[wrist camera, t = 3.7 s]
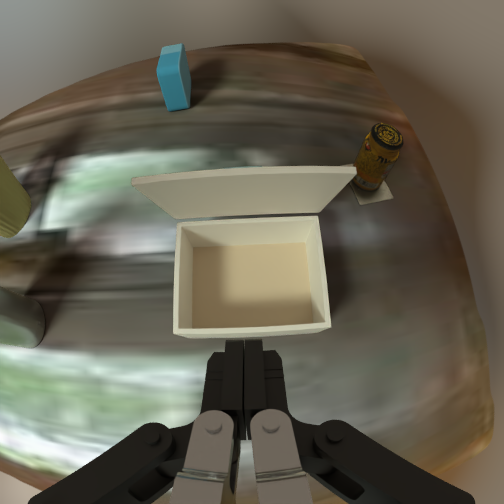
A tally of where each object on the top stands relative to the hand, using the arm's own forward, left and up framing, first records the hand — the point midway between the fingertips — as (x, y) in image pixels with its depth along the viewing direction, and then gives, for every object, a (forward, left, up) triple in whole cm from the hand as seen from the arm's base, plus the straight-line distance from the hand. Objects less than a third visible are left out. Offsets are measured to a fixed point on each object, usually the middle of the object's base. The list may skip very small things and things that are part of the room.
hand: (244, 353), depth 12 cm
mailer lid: (-5, +14, -13) cm, 20 cm away
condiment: (+11, +33, -28) cm, 45 cm away
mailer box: (-3, +9, -28) cm, 29 cm away
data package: (-31, +45, -28) cm, 62 cm away
